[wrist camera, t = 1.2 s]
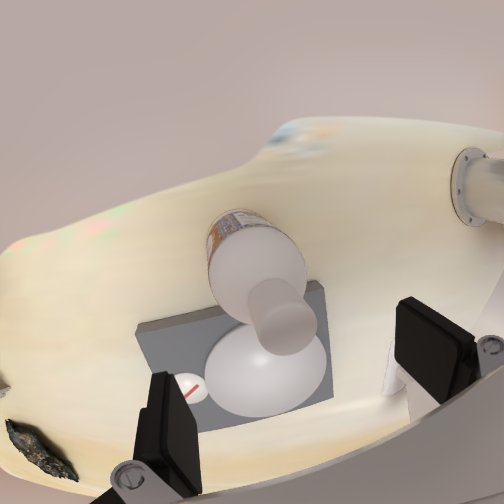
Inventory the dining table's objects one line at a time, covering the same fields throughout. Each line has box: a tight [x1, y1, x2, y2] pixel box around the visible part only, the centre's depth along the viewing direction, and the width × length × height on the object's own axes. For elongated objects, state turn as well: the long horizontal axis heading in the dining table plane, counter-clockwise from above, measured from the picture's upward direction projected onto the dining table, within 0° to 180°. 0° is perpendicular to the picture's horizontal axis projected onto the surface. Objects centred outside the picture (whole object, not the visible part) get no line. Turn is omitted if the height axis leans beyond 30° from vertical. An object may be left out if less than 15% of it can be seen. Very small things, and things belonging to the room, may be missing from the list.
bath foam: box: [207, 209, 317, 356], centre depth 23 cm, size 7×7×20 cm
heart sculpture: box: [381, 340, 440, 423], centre depth 33 cm, size 16×5×18 cm, turn 6°
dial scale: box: [135, 280, 334, 433], centre depth 35 cm, size 22×18×4 cm
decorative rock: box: [5, 419, 79, 482], centre depth 35 cm, size 19×6×15 cm
